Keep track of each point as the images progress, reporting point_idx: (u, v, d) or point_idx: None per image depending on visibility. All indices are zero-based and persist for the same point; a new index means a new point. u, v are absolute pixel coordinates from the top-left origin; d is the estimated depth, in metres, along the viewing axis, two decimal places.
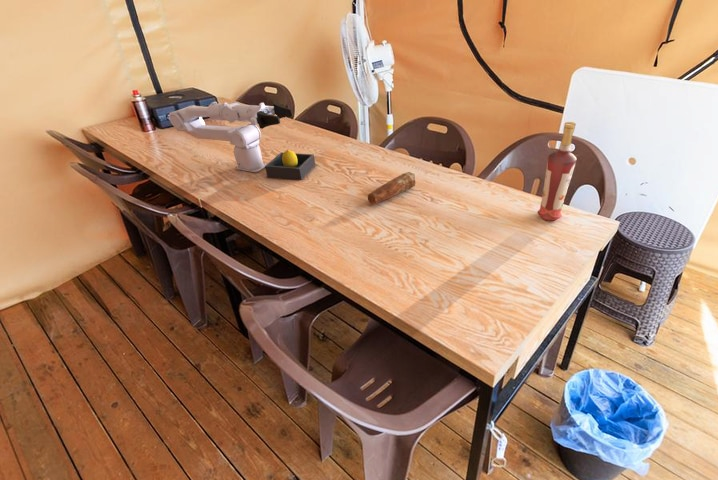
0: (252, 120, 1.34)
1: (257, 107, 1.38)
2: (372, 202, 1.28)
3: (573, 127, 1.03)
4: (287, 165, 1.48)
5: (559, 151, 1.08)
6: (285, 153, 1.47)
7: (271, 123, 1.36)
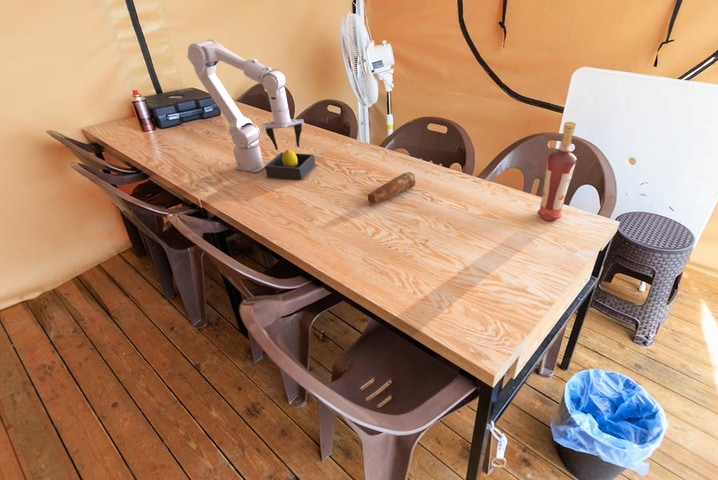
0: None
1: (280, 121, 1.38)
2: (372, 202, 1.28)
3: (573, 127, 1.03)
4: (287, 165, 1.48)
5: (559, 151, 1.08)
6: (285, 153, 1.47)
7: None
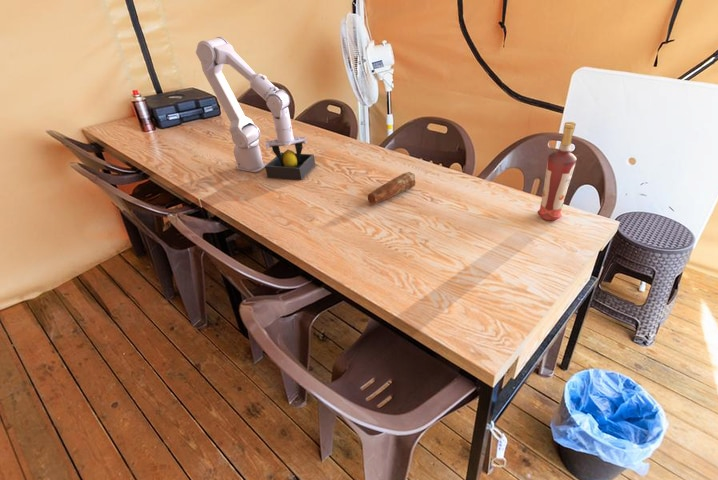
0: None
1: (283, 139, 1.42)
2: (372, 202, 1.28)
3: (573, 127, 1.03)
4: (287, 165, 1.48)
5: (559, 151, 1.08)
6: (285, 153, 1.47)
7: None
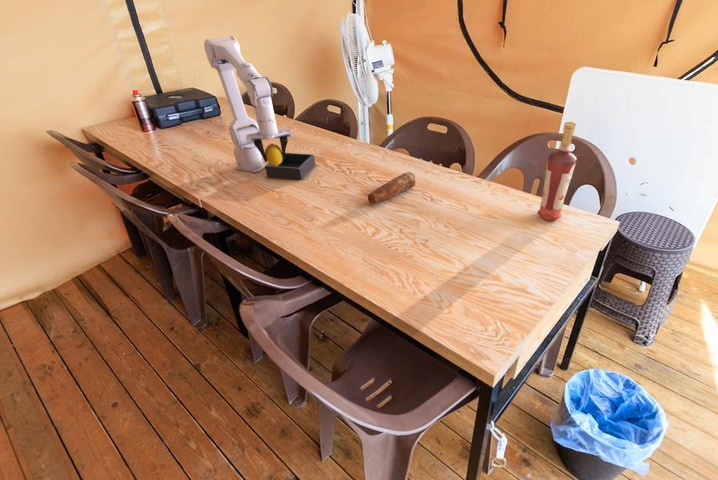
0: (246, 139, 1.29)
1: (266, 132, 1.28)
2: (372, 202, 1.28)
3: (573, 127, 1.03)
4: (271, 161, 1.34)
5: (559, 151, 1.08)
6: (268, 147, 1.33)
7: None
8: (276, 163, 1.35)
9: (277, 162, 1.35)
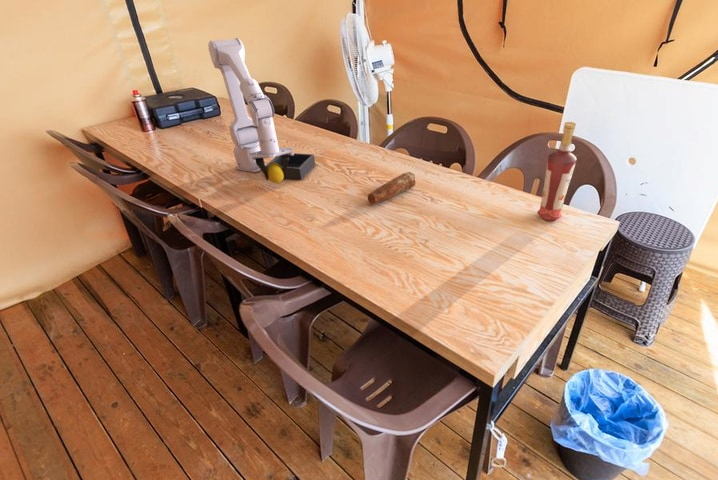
0: (248, 158, 1.31)
1: (267, 151, 1.30)
2: (372, 202, 1.28)
3: (573, 127, 1.03)
4: (272, 179, 1.36)
5: (559, 151, 1.08)
6: (270, 166, 1.35)
7: None
8: (277, 181, 1.37)
9: (278, 180, 1.37)
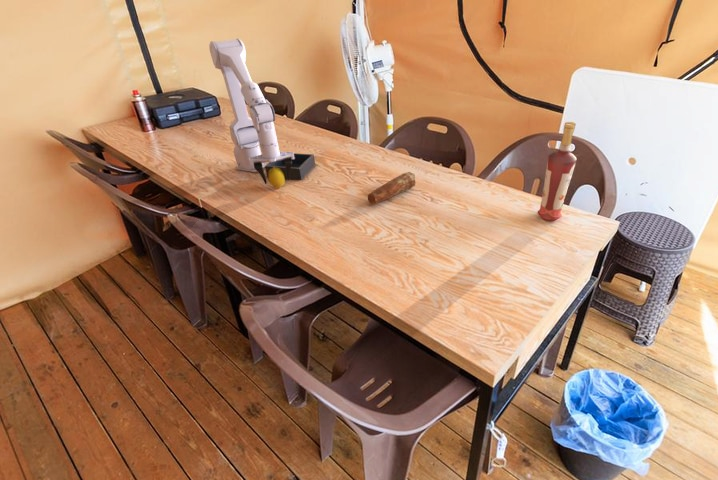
0: (249, 162, 1.32)
1: (268, 155, 1.31)
2: (372, 202, 1.28)
3: (573, 127, 1.03)
4: (273, 183, 1.37)
5: (559, 151, 1.08)
6: (271, 170, 1.36)
7: None
8: (278, 185, 1.38)
9: (279, 184, 1.38)
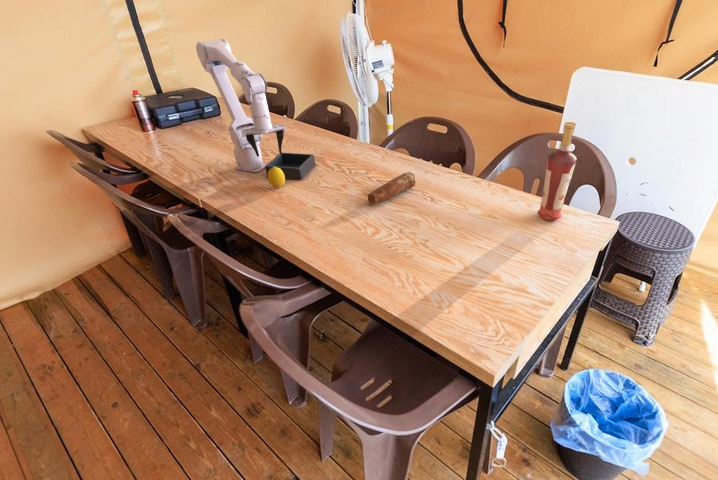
0: (241, 134, 1.34)
1: (260, 127, 1.33)
2: (372, 202, 1.28)
3: (573, 127, 1.03)
4: (273, 183, 1.37)
5: (559, 151, 1.08)
6: (271, 170, 1.36)
7: None
8: (278, 185, 1.38)
9: (279, 184, 1.38)
